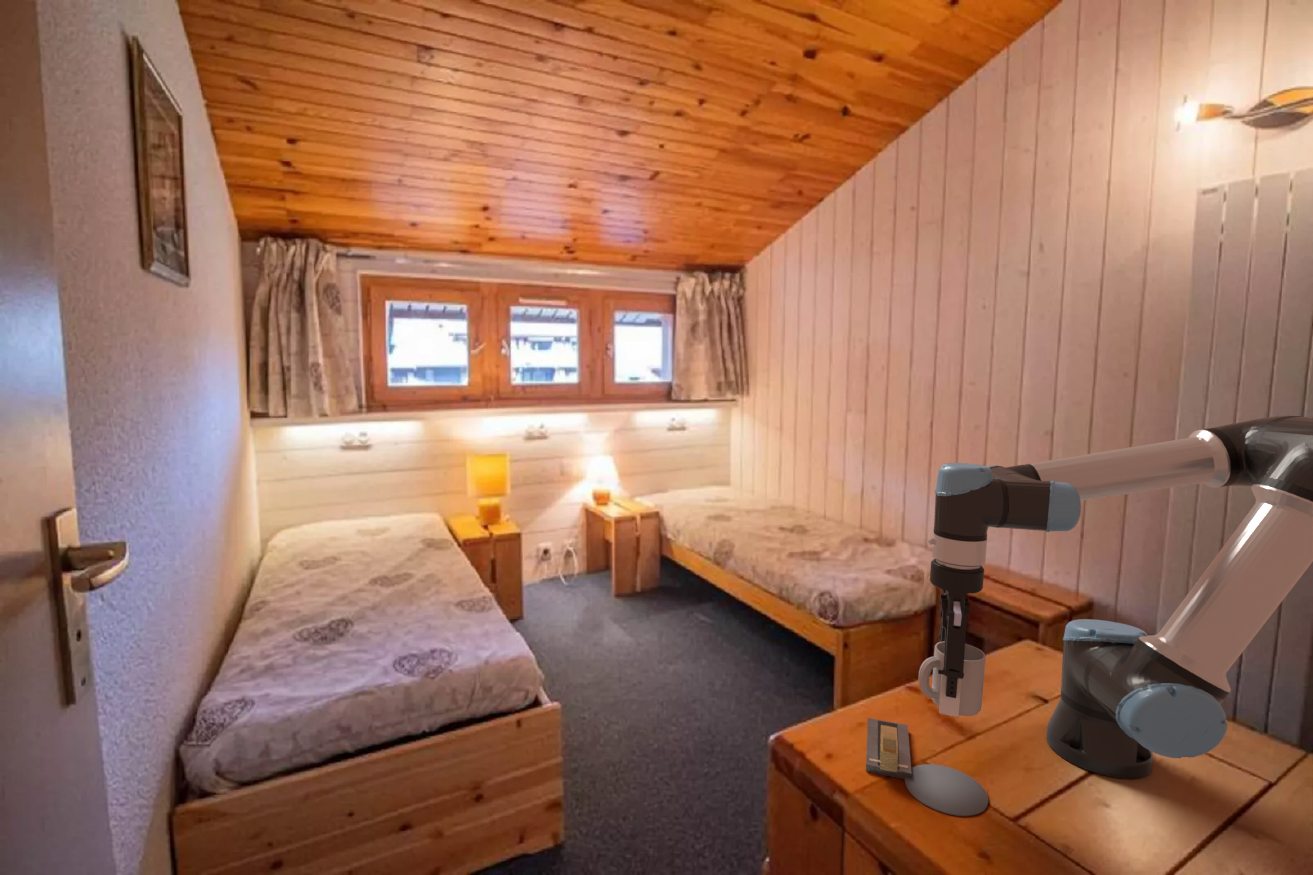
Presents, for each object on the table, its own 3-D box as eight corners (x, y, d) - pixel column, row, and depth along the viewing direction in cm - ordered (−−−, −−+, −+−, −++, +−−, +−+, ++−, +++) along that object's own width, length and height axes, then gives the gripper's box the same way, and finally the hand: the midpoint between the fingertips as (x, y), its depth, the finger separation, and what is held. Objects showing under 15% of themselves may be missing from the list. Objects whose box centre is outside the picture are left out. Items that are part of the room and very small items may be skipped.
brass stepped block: (896, 745, 107) (897, 716, 106) (897, 772, 99) (898, 742, 99) (880, 742, 108) (881, 714, 107) (880, 769, 100) (881, 739, 100)
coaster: (981, 775, 101) (981, 773, 101) (994, 824, 90) (994, 822, 90) (903, 759, 105) (903, 758, 105) (906, 805, 94) (906, 803, 94)
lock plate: (907, 731, 114) (907, 724, 114) (911, 780, 100) (911, 773, 100) (867, 723, 116) (867, 717, 116) (865, 771, 102) (866, 763, 102)
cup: (991, 716, 94) (995, 661, 94) (928, 718, 94) (932, 661, 93) (964, 692, 102) (968, 640, 101) (906, 693, 101) (909, 641, 100)
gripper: (929, 543, 107) (920, 669, 109) (933, 577, 88) (923, 729, 90) (977, 549, 104) (967, 678, 106) (992, 585, 85) (980, 741, 87)
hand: (947, 701), depth 98 cm, fingers closed on cup, 7 cm apart
